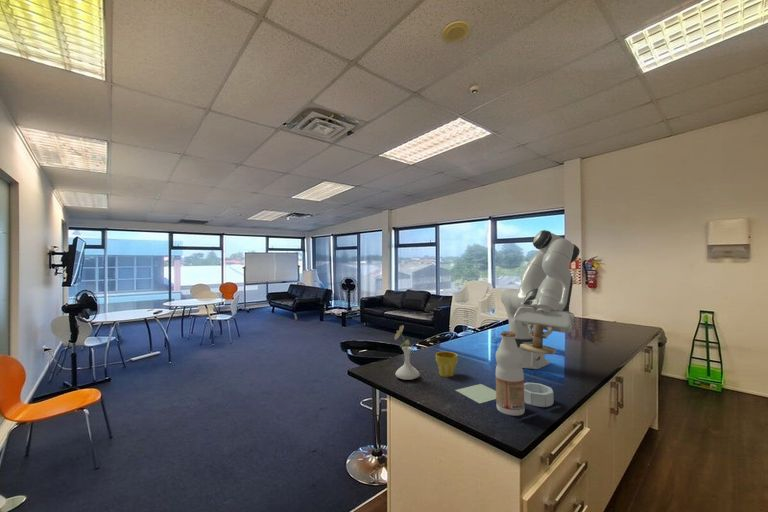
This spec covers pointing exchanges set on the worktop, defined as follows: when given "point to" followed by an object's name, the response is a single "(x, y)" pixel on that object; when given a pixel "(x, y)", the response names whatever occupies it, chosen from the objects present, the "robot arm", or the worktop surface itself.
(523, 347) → the lid
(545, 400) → the bowl
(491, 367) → the worktop surface
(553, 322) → the robot arm
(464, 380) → the worktop surface
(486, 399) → the mat
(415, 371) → the flower in vase
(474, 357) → the worktop surface
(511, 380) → the fruit juice
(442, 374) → the plant pot
